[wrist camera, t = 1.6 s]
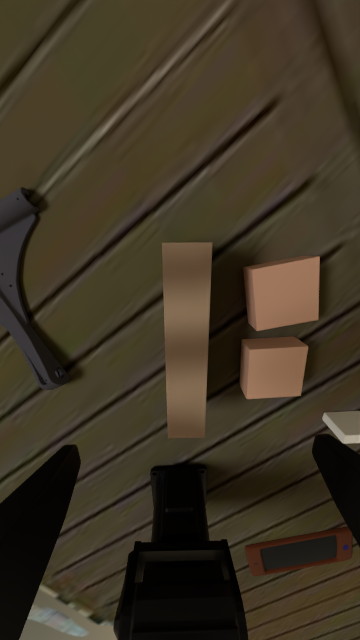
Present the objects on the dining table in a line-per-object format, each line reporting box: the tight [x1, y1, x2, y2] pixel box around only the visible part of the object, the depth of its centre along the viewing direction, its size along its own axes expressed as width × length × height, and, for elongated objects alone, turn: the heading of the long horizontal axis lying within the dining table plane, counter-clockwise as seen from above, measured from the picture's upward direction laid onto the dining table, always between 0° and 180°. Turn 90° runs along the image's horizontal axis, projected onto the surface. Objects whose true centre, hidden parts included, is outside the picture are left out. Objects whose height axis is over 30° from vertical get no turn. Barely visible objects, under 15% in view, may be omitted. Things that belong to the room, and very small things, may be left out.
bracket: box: [0, 187, 69, 390], centre depth 18 cm, size 14×15×3 cm
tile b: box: [243, 256, 320, 331], centre depth 17 cm, size 5×5×2 cm
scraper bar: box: [162, 242, 212, 438], centre depth 17 cm, size 15×3×5 cm, turn 0°
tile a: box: [239, 336, 308, 399], centre depth 20 cm, size 5×5×2 cm
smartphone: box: [245, 527, 352, 576], centre depth 31 cm, size 7×1×15 cm
